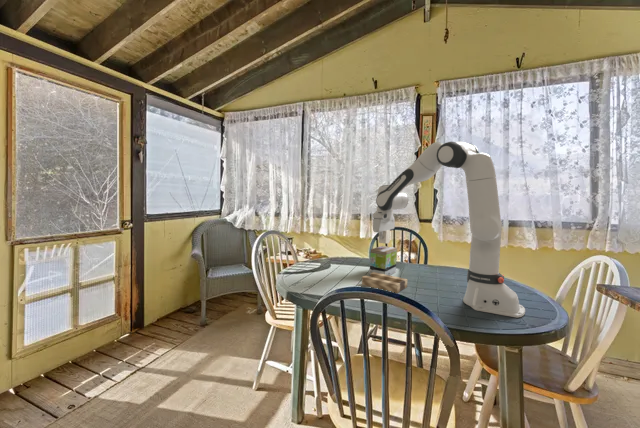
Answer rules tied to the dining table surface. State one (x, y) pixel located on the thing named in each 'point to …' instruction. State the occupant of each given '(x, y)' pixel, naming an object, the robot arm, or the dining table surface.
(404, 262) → the dining table surface
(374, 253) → the tea box
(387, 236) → the block
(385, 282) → the trough
